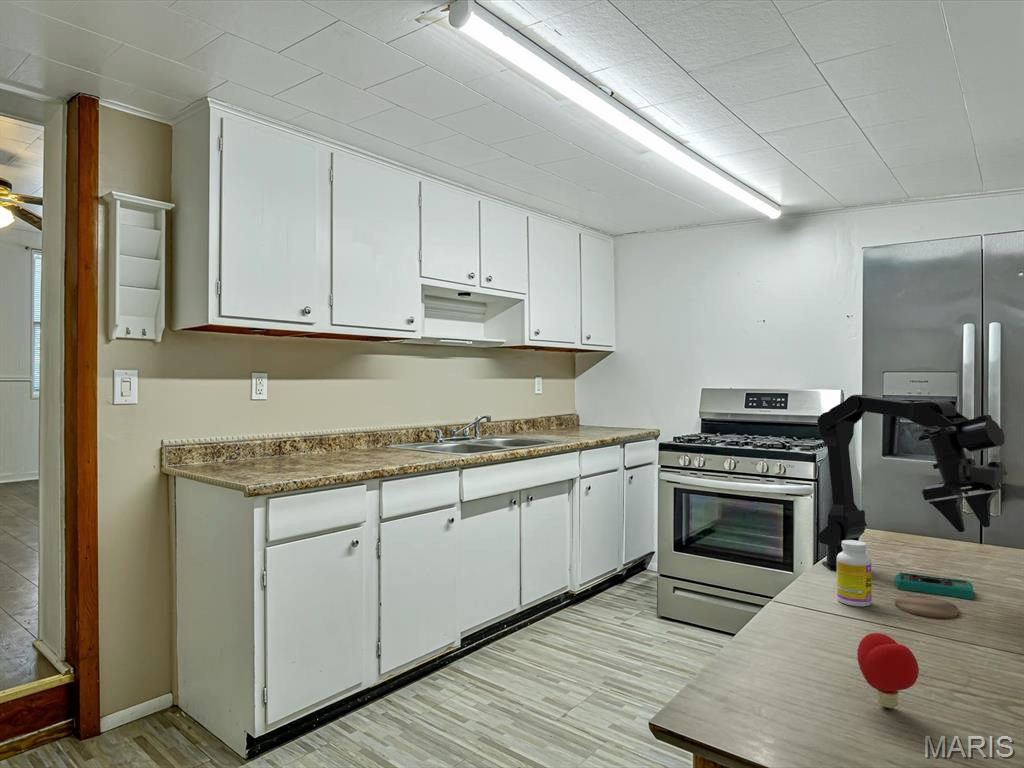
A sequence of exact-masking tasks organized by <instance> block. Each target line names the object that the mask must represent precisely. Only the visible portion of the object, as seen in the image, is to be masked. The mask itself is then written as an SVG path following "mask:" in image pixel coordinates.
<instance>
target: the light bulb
mask: <svg viewBox="0 0 1024 768" xmlns="http://www.w3.org/2000/svg"><path fill="white" fill-rule="evenodd" d="M856 653H857V664H858V666H859V669H860V671H861V674H862V676H863V678H864V679H865V682H867V683H868V684H869V686H870V687H872V689H874V690H876V702H877V703H878V704H880V705H881V706H882V707H883V709H885V710H890V711H891V710H893V708H897V707H898V706H899V691H903V690H907V689H910V688H911V687H913V686H914V685H915V684H916V682H917V680H918V677H919V673H920V672H919V671H920V668H919V663H918V661H917V658H916V656H915V655H914V653H913V652H912V651H911V650H910V648H909V647H908V646H906V645H904V644H901V643H898V642H897V641H896V640H895V639H893V638H892V637H890V636H889V635H886V633H881V632H880V633H879V632H874V633H873V632H871V633H869V634H866V635H865V636H864V637H863V638H862V639H861V640H860V641H859V644H858V646H857V651H856Z"/></svg>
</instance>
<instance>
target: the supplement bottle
mask: <svg viewBox="0 0 1024 768" xmlns="http://www.w3.org/2000/svg"><path fill="white" fill-rule="evenodd" d="M842 549H843V552H840V553H839V554H838V555H837V570H836V599H837V600H838V602H840V603H842V604H844V605H847V606H851V607H861V608H862V607H868V606H870V605H871V604H872V603H873V602H872V600H873V598H872V597H873V596H872V595H873V594H872V592H873V588H872V587H873V584H872V580H873V579H872V578H873V577H872V575H873V574H872V559H871V557H870V556H869V555H868V554H866V551H867V543H866V542H864V541H861V540H859V541H855V540H844V541H842Z"/></svg>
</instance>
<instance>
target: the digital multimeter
mask: <svg viewBox="0 0 1024 768" xmlns="http://www.w3.org/2000/svg"><path fill="white" fill-rule="evenodd" d="M894 587H897V588H898V590H899V589H904V590H903V591H907V590H913V591H912V592H915V591H921V592H920V593H922V592H927V593H926V594H930V593H934V594H933V595H937V594H940V595H939V596H944V595H946V596H945V597H951V596H952V598H957V597H959V598H958V599H963V600H964V599H965V600H973V599H974V585H973V584H972V582H971V581H969V580H963V579H957V578H956V579H954V578H945V577H938V576H931V575H930V576H929V575H923V574H916V573H915V574H914V573H907V572H898V573H897V574H896V575H895V576H894ZM897 588H896V589H897Z"/></svg>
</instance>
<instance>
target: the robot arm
mask: <svg viewBox="0 0 1024 768" xmlns="http://www.w3.org/2000/svg"><path fill="white" fill-rule="evenodd" d="M865 413H872V414H877V415H878V414H879V415H884V416H892V417H898V418H903V419H905V420H908V421H909V422H911V423H914V424H916V425H919V426H923V427H926V428H925V429H923V430H922V431H923V432H922V433H921V434H920V436H919V437H918V438H917V439H918V441H919V442H925V441H929V443H930V446H931V450H932V453H933V456H934V459H935V462H936V463H933V464H932V467H933V469H934V470H936V469H937V470H938V471H939V474H940V479H941V480H942V481H941V482H939V483H937V484H934V485H929V486H927V485H926V486H924V487H923V489H922V490H921V495H922V498H923V501H928V503H929V505H932V506H933V507H934V508H935V509H936V510H937V511H938V512H939V513H940V514H941V515H942V516H943V517H944V518H945V519H946V520H947V521H948V522H949V523H950V525H952V527H954V529H955V530H956V531H957V532H958V533H963V532H965V531H966V530H965V523H964V519H963V513H962V509H961V504H962V502H963V501H964V500H965V501H966V504H967V505H968V506H969V507H970V509H971V510H972V512H973V514H974V515H975V517H976V518H977V520H978V521H979V523H980V524H981V526H982V527H983V528H990V526H991V504H992V500H993V499H994V497H995V496H996V495H998V494H999V490H1001V489H1002V487H1001V485H1003V484H1004V477H1007V476H1008V472H1007V471H1006V467H1005V466H1004V464H1003V462H1002V461H995V460H993V461H989V462H988V464H987V465H986V464H983V465H981V464H977V463H976V461H975V459H974V458H972V457H970V458H969V457H968V455H967V454H966V450H967V451H968V452H971V453H972V452H973V453H975V452H978V451H979V452H980V451H984V450H988V449H993V448H998V447H1001V446H1003V445H1004V444H1005V433H1004V431H1003V429H1002V428H1001V427H1000V425H999V424H998V423H997V422H996V421H995V420H994V419H993V418H992V415H991V414H984V415H983V414H982V415H979V416H977V417H974V418H971V419H969V418H968V417H966V416H965V415H964V414H962V413H961V412H959V411H957V409H956V407H955V405H954V403H952V402H951V401H949V400H927V401H926V400H925V401H922V400H921V401H909V400H901V399H895V398H886V397H878V396H871V395H867V394H852V395H849V397H847V398H846V399H845V400H844V401H842V402H840V403H839V404H837V405H835V406H834V407H831V408H830V409H828V411H826V412H823V413H822V414H820V416H819V417H818V418H817V422H816V424H817V425H816V426H817V428H818V432H819V436H820V438H821V440H822V442H823V443H824V445H825V446H826V448H827V458H828V467H829V477H830V478H829V480H830V488H831V489H830V490H831V500H832V504H831V506H830V509H829V511H828V513H827V522H826V523H827V525H826V527H824V528H823V529H822V530H821V531H820V532H819V533H818V534H817V537H818V541H819V544H823V545H825V546H826V547H825V549H826V551H825V552H826V561H823V560H822V561H823V562H822V561H821V564H822V565H823V566H824V567H826V568H827V569H828V570H830V571H837V555H838V554H839V553H840V552H843V549H842V541H844V540H855V541H860V537H861V536H862V535H863V534H864V533H865V531H866V530H865V529H866V527H868V525H867V523H866V512H865V510H864V509H862V510H861V509H859V507H857V505H856V503H855V498H854V497H855V495H854V487H853V476H852V468H851V455H850V447H849V446H850V444H851V441H852V439H853V437H854V431H855V425H856V424H857V423H858V422H859V421H860V420H861V419H862V418H863V416H864V415H865ZM931 428H940V429H936V430H933V429H931ZM953 428H955V429H954V430H949V429H953ZM965 449H966V450H965ZM997 490H998V491H997ZM962 493H963V494H964V495H965V496H961V495H962ZM931 500H932V501H931Z"/></svg>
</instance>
